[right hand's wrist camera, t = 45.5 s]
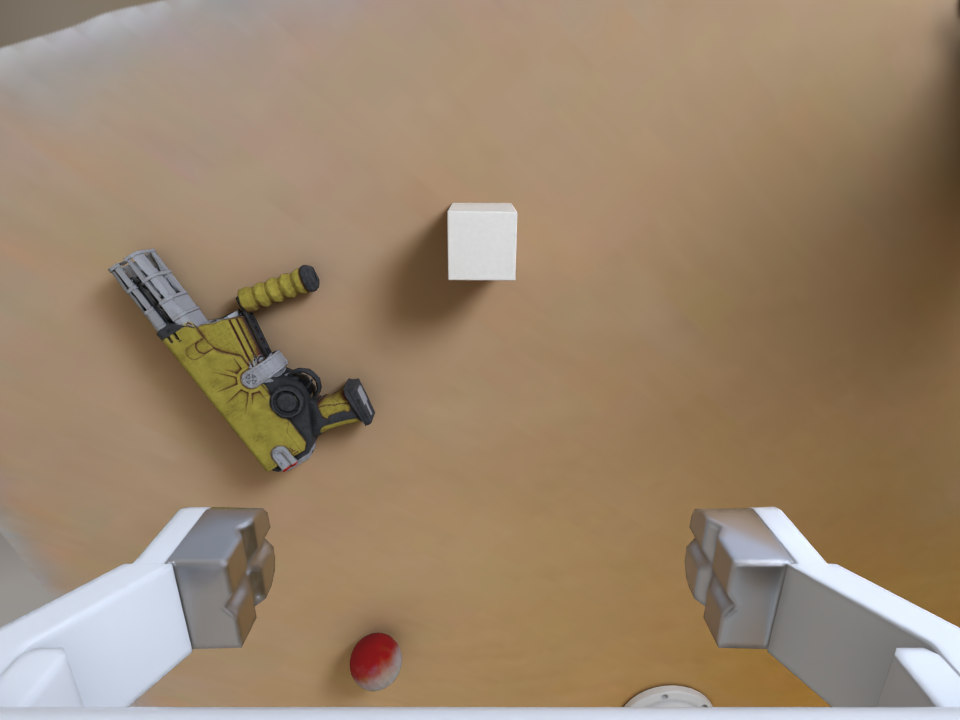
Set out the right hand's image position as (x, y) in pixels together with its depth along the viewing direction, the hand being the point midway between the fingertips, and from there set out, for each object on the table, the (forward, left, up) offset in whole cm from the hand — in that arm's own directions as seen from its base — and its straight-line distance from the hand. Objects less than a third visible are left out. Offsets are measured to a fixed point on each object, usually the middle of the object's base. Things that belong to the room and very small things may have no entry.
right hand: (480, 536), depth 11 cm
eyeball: (+51, +1, -43) cm, 66 cm away
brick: (0, 0, -43) cm, 43 cm away
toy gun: (+14, -17, -43) cm, 49 cm away
